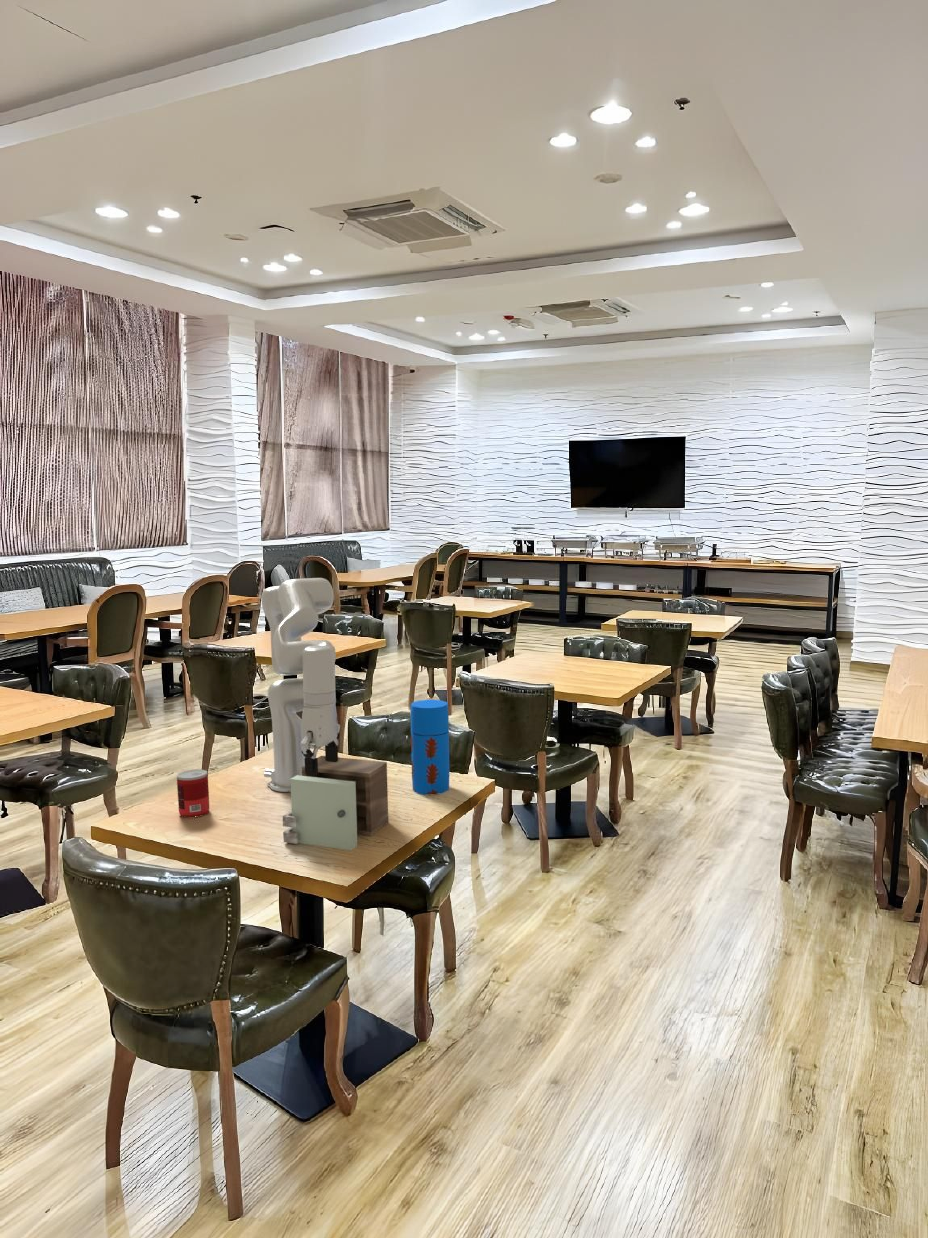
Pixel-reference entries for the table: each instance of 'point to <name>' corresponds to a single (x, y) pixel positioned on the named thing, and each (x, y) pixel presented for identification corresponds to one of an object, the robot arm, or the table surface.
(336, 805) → the door
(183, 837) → the table surface
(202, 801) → the canned food
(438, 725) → the thermos
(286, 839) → the cabinet
